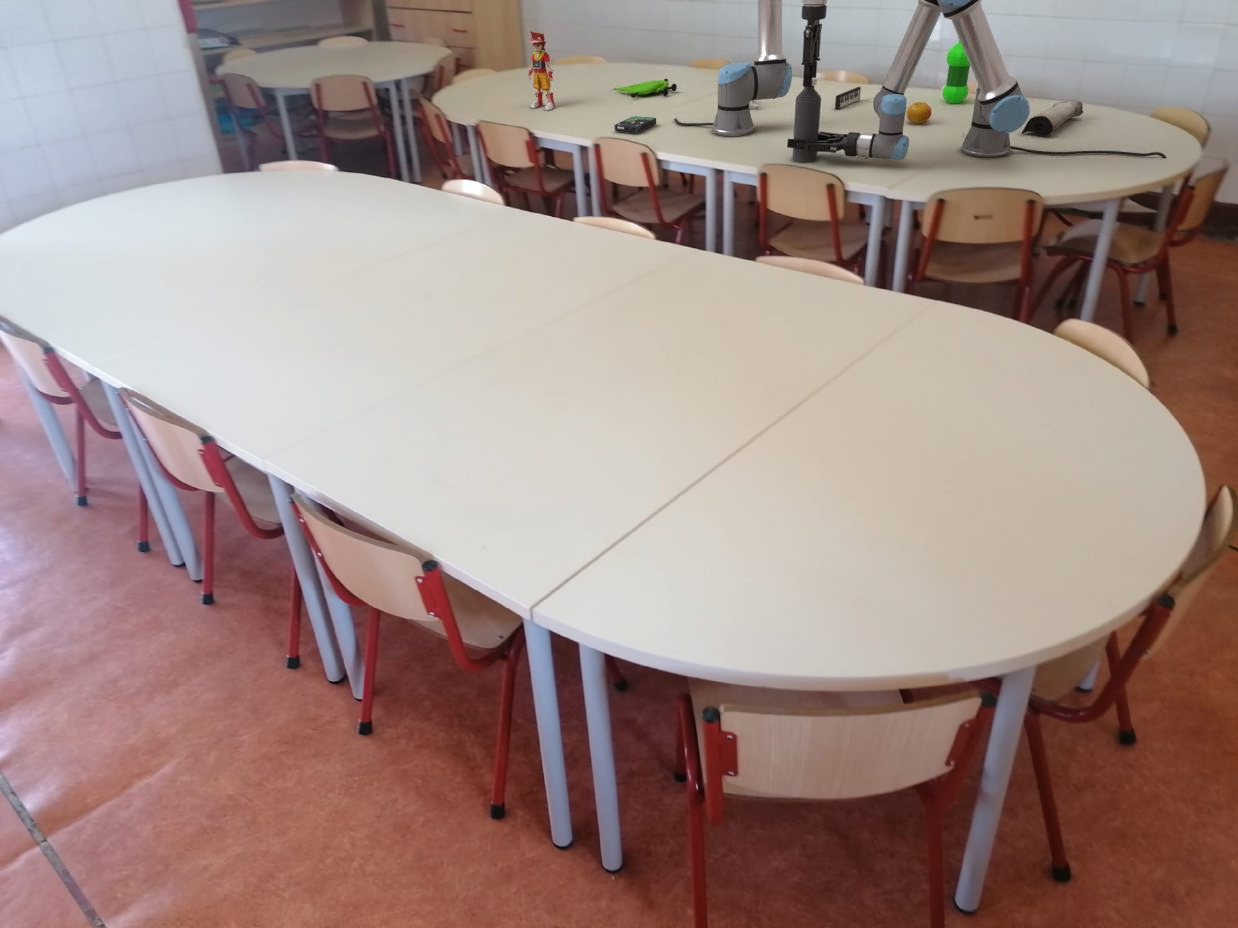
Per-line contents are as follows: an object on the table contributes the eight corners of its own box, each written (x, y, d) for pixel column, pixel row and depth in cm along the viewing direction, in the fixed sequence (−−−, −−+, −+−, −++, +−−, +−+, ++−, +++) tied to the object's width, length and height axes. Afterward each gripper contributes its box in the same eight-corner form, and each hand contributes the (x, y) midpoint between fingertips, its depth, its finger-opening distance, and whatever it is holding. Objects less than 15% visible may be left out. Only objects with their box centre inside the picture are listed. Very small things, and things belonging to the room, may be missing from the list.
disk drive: (637, 135, 339) (656, 124, 349) (637, 127, 338) (656, 117, 348) (614, 132, 344) (634, 122, 354) (613, 125, 343) (633, 115, 353)
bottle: (819, 156, 305) (825, 79, 291) (812, 163, 299) (818, 84, 285) (796, 154, 308) (801, 77, 294) (789, 161, 302) (793, 83, 288)
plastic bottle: (973, 101, 354) (984, 32, 339) (955, 106, 349) (966, 36, 335) (952, 97, 361) (962, 29, 346) (934, 102, 356) (944, 33, 342)
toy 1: (525, 109, 381) (517, 32, 364) (534, 104, 388) (527, 28, 371) (550, 110, 377) (543, 32, 360) (559, 105, 384) (553, 28, 367)
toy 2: (686, 85, 398) (631, 84, 414) (685, 72, 395) (629, 72, 411) (651, 104, 381) (596, 103, 397) (650, 92, 378) (594, 91, 394)
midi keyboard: (837, 109, 354) (838, 96, 352) (834, 109, 355) (835, 95, 352) (859, 100, 365) (861, 87, 362) (857, 99, 366) (858, 86, 363)
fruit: (901, 115, 329) (915, 95, 326) (903, 118, 337) (916, 98, 334) (920, 127, 328) (935, 107, 325) (921, 130, 336) (935, 111, 333)
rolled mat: (1050, 105, 331) (1074, 88, 323) (1064, 126, 331) (1088, 109, 323) (1017, 127, 314) (1042, 110, 305) (1032, 149, 314) (1057, 132, 306)
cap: (814, 86, 288) (814, 80, 287) (800, 85, 289) (800, 80, 288) (818, 83, 291) (818, 77, 290) (804, 82, 293) (804, 77, 292)
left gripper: (809, 0, 285) (805, 78, 298) (794, 9, 272) (790, 90, 285) (833, 0, 282) (827, 79, 295) (819, 9, 269) (813, 91, 282)
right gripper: (849, 165, 288) (781, 159, 297) (866, 147, 303) (800, 142, 312) (851, 141, 283) (782, 136, 292) (868, 125, 298) (802, 120, 307)
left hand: (809, 84), depth 290 cm, fingers closed on cap, 4 cm apart
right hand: (792, 139), depth 302 cm, fingers closed on bottle, 8 cm apart
